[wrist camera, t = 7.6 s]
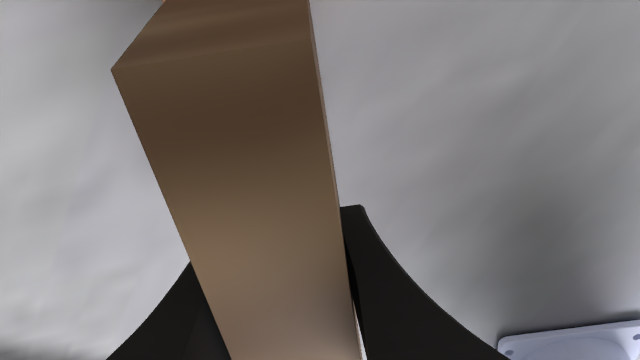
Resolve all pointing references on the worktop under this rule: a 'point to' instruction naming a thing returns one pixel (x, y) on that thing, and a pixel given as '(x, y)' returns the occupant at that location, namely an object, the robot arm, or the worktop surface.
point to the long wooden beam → (247, 170)
